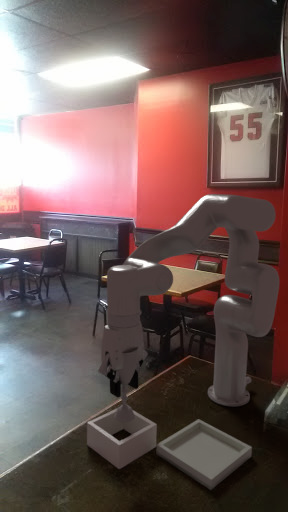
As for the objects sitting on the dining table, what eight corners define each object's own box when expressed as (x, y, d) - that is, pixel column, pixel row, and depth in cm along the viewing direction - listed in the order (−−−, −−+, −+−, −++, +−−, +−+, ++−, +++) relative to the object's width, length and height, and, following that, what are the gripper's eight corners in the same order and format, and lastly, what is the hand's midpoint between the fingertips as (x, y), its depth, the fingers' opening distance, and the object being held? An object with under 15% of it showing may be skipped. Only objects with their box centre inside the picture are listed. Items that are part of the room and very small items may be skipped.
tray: (198, 427, 109) (198, 419, 108) (251, 456, 97) (251, 447, 97) (156, 454, 97) (156, 444, 97) (210, 490, 86) (211, 479, 86)
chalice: (134, 426, 95) (134, 354, 92) (106, 423, 97) (105, 351, 93) (141, 409, 102) (141, 342, 99) (115, 406, 104) (114, 339, 100)
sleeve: (123, 425, 109) (124, 404, 108) (156, 446, 100) (156, 424, 99) (87, 444, 100) (87, 422, 99) (119, 469, 92) (119, 445, 91)
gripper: (139, 307, 103) (139, 374, 107) (84, 323, 92) (86, 397, 95) (160, 314, 98) (160, 384, 101) (105, 332, 86) (106, 410, 90)
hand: (124, 390), depth 98 cm, fingers closed on chalice, 4 cm apart
